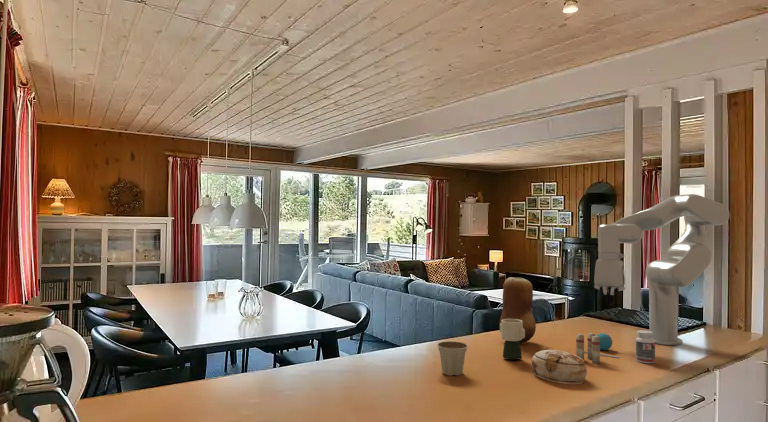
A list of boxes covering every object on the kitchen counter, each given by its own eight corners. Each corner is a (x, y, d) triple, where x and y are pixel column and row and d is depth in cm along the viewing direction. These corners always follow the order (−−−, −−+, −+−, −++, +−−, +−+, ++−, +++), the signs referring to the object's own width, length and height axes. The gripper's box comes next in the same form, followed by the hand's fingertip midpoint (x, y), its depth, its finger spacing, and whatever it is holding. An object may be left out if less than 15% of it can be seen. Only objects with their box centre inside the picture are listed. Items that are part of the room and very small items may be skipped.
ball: (596, 346, 182) (596, 330, 182) (614, 349, 178) (614, 333, 178) (592, 350, 177) (592, 333, 177) (610, 353, 174) (609, 336, 174)
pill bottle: (657, 364, 160) (657, 333, 160) (638, 363, 161) (638, 333, 161) (651, 359, 165) (651, 330, 165) (633, 358, 166) (633, 329, 167)
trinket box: (529, 370, 154) (529, 344, 154) (579, 372, 152) (578, 346, 152) (536, 384, 140) (536, 356, 141) (591, 386, 138) (590, 358, 139)
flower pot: (470, 370, 153) (470, 342, 153) (465, 379, 144) (465, 349, 145) (440, 367, 156) (440, 340, 156) (434, 375, 147) (434, 347, 148)
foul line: (577, 351, 176) (577, 350, 176) (619, 357, 168) (619, 357, 168) (576, 351, 175) (576, 351, 175) (618, 358, 167) (618, 357, 167)
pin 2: (593, 361, 163) (592, 335, 163) (600, 362, 161) (600, 336, 162) (590, 363, 161) (590, 337, 161) (598, 364, 160) (598, 338, 160)
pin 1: (577, 358, 166) (577, 333, 166) (585, 360, 165) (585, 334, 165) (575, 360, 164) (575, 334, 164) (583, 361, 163) (582, 336, 163)
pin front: (588, 357, 168) (588, 332, 168) (596, 358, 166) (596, 333, 166) (586, 359, 166) (586, 333, 166) (594, 360, 164) (594, 334, 164)
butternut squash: (543, 343, 187) (543, 278, 187) (520, 348, 179) (519, 280, 180) (514, 336, 198) (514, 275, 199) (491, 341, 191) (491, 277, 191)
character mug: (532, 361, 163) (531, 322, 163) (517, 364, 159) (516, 324, 160) (507, 353, 172) (507, 316, 173) (493, 356, 168) (492, 319, 169)
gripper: (632, 257, 184) (633, 305, 184) (591, 255, 194) (591, 301, 193) (628, 258, 178) (628, 308, 178) (585, 256, 188) (586, 304, 187)
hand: (609, 305), depth 186 cm, fingers closed
